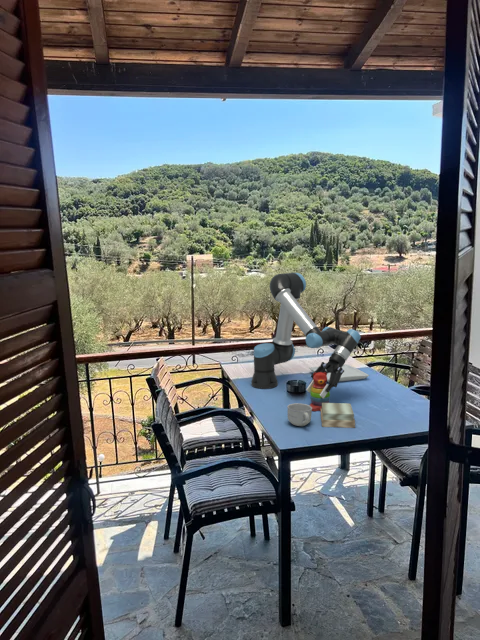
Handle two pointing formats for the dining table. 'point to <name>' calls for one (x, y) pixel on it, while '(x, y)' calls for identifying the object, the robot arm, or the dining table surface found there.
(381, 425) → the dining table surface
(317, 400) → the stacking bear
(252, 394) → the dining table surface
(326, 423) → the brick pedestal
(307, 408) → the teacup
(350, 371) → the square plate
